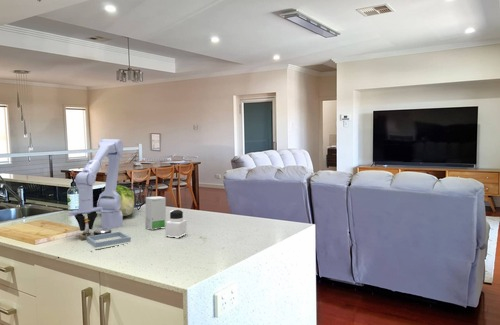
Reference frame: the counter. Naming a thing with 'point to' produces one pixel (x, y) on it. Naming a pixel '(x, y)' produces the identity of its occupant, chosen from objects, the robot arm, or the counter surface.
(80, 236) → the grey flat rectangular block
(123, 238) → the tray
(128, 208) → the lettuce
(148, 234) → the counter surface
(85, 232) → the lock pin
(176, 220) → the medicine bottle
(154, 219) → the skincare box
